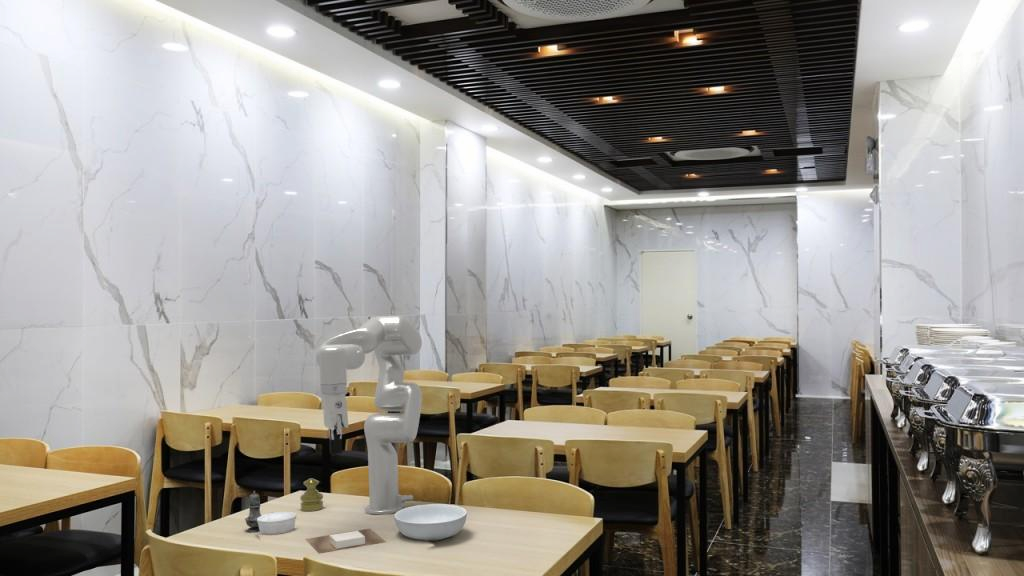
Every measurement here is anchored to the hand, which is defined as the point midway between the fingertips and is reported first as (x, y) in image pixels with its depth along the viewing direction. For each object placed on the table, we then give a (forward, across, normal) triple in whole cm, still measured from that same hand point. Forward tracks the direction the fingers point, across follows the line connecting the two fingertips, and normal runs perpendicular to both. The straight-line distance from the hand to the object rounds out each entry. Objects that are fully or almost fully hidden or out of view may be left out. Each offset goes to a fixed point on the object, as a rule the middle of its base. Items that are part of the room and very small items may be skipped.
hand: (335, 452), depth 234 cm
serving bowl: (+25, -12, -24) cm, 37 cm away
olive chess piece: (+25, +41, -2) cm, 48 cm away
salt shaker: (+25, +25, +19) cm, 40 cm away
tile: (+22, -6, 0) cm, 23 cm away
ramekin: (+25, +17, +14) cm, 33 cm away
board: (+25, -6, 0) cm, 26 cm away
